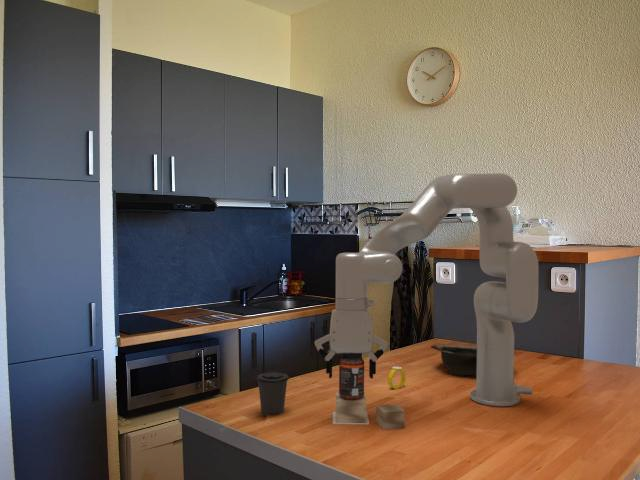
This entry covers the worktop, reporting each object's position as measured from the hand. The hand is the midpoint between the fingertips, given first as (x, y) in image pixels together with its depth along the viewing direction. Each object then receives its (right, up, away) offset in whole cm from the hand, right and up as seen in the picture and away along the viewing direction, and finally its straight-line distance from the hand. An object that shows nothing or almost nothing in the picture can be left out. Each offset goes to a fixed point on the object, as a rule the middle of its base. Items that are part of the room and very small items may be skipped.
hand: (350, 376), depth 135 cm
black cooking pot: (+41, -10, +48) cm, 64 cm away
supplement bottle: (0, -5, 0) cm, 5 cm away
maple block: (0, -10, 0) cm, 10 cm away
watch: (+15, -10, +28) cm, 33 cm away
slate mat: (+2, -10, +1) cm, 11 cm away
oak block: (+9, -10, -4) cm, 14 cm away
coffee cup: (-19, -10, +5) cm, 22 cm away
